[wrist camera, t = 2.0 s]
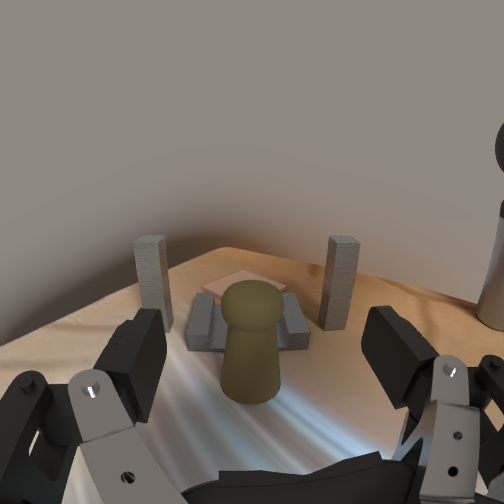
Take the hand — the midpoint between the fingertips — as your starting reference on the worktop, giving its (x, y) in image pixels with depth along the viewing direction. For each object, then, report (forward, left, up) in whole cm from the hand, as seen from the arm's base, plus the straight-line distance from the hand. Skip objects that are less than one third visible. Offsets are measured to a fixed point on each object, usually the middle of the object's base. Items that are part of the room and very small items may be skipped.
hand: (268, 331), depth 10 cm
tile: (-23, -23, -15) cm, 36 cm away
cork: (-8, -8, -15) cm, 19 cm away
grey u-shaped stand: (-15, -15, -15) cm, 26 cm away
